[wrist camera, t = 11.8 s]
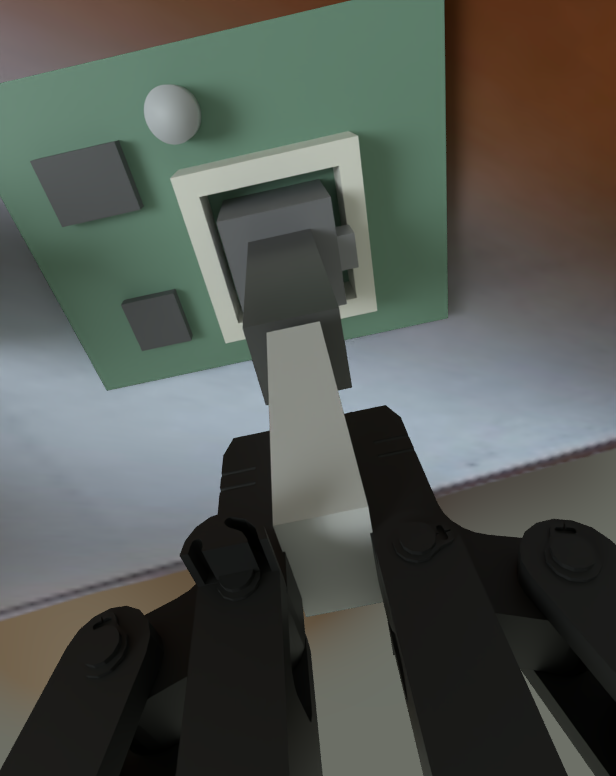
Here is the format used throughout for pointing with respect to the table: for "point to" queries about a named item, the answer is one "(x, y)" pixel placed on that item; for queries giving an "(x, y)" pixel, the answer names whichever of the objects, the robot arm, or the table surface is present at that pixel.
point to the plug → (288, 268)
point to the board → (231, 176)
